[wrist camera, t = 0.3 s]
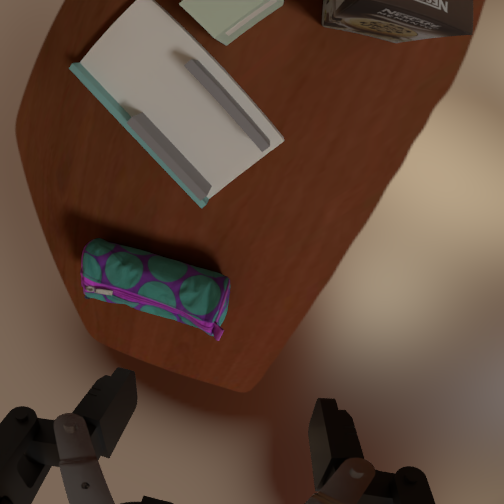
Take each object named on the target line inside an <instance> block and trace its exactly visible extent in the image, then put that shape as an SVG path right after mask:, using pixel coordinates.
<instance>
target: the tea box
mask: <svg viewBox="0 0 504 504" xmlns="http://www.w3.org/2000/svg"><path fill="white" fill-rule="evenodd" d="M283 3H284V0H183V1H181V2H180V3H179V5H180V6H181V7H183V8H184V9H185V10H186V11H187V12H188V13H189V14H190V15H191V16H192V17H193V18H194V19H195V20H196V21H197V22H198V23H199V24H200V25H201V26H202V27H203V28H204V29H205V30H206V31H207V32H208V33H209V34H210V35H211V36H212V37H213V38H214V39H216V40H218V41H220V42H221V43H223V44H224V45H226V46H227V45H228V44H229V43H231V42H232V41H233V40H235V39H236V38H237V37H238V36H240V35H241V34H242V33H244V32H245V31H246V30H248V29H249V28H251V27H252V26H253V25H255V24H256V23H257V22H259V21H260V20H262V19H263V18H265V17H266V16H267V15H269V14H270V13H272V12H273V11H275V10H276V9H278V8H279V7H281V6H282V5H283Z"/></svg>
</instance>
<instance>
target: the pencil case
mask: <svg viewBox="0 0 504 504" xmlns="http://www.w3.org/2000/svg"><path fill="white" fill-rule="evenodd" d="M81 266H82V269H81V271H80V274H81V285H82V287H83V291H84V294H85V298H87V299H90V298H95V299H98V300H101V301H105V302H110V303H119V304H126V305H128V306H130V307H133V308H135V309H137V310H140V311H144V312H147V313H150V314H154V315H158V316H161V317H165V318H169V319H173V320H176V321H178V322H181V323H185V324H188V325H191V326H194V327H197V328H200V329H202V330H203V331H205V332H206V333H207V334H208V335H210V336H214V337H215V339H216V340H217V341H219V340H220V338H221V336H222V334H223V331H224V330H223V329H222V328H221V327H220V325H221V324H222V322H223V321H224V319H225V316H226V314H227V310H228V302H229V294H230V279H229V278H228V277H227V276H224V275H222V274H220V273H218V272H213V271H210V270H207V269H203V268H199V267H195V266H192V265H189V264H186V263H183V262H179V261H176V260H173V259H169V258H165V257H162V256H159V255H156V254H153V253H150V252H146V251H143V250H140V249H136V248H132V247H127V246H123V245H119V244H116V243H111V242H107V241H105V240H104V239H101V238H97V239H93V240H91V241H90V242H88V243H87V244H86V245H85V247H84V249H83V252H82V258H81Z"/></svg>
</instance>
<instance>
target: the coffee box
mask: <svg viewBox="0 0 504 504" xmlns="http://www.w3.org/2000/svg"><path fill="white" fill-rule="evenodd" d="M322 26H324V27H328V28H333V29H339V30H344V31H349V32H354V33H358V34H363V35H367V36H371V37H375V38H379V39H383V40H386V41H390V42H394V43H399V42H406V41H412V40H420V39H427V38H436V37H446V36H458V35H472V31H473V0H323V10H322Z"/></svg>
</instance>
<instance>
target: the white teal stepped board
mask: <svg viewBox="0 0 504 504" xmlns="http://www.w3.org/2000/svg"><path fill="white" fill-rule="evenodd" d="M69 69H70V70H71V71H72V72H73V73H74V74H75V75H76V76H77V78H78V79H79V80H80V81H81V82H82V83H83V84H84V85H85V86H86V87H87V88H88V89H89V90H90V91H91V92H92V94H93V95H94V96H95V97H96V98H97V99H98V100H99V101H100V102H101V103H102V104H103V105H104V106H105V107H106V108H107V109H108V111H109V112H110V113H111V114H112V115H113V116H114V117H115V118H116V119H117V120H118V121H119V122H120V123H121V124H122V125H123V126H124V127H125V129H126V130H127V131H128V132H129V133H130V134H131V135H132V136H133V137H134V138H135V139H136V140H137V141H138V142H139V143H140V144H141V145H142V146H143V148H144V149H145V150H146V151H147V152H148V153H149V154H150V155H151V156H152V157H153V158H154V159H155V160H156V161H157V162H158V163H159V164H160V165H161V167H162V168H163V169H164V170H165V171H166V172H167V173H168V174H169V175H170V176H171V177H172V178H173V179H174V180H175V181H176V182H177V183H178V184H179V185H180V186H181V188H182V189H183V190H184V191H185V192H186V193H187V194H188V195H189V196H190V197H191V198H192V199H193V200H194V201H195V202H196V203H197V204H198V205H199V206H200V207H201V208H203V207H204V206H205V205H206V204H207V202H208V200H209V199H210V198H211V197H212V196H213V195H215V194H216V193H217V192H218V191H220V190H221V189H222V188H223V187H225V186H226V185H227V184H228V183H230V182H231V181H232V180H234V179H235V178H236V177H237V176H239V175H240V174H241V173H242V172H244V171H245V170H246V169H248V168H249V167H250V166H252V165H253V164H254V163H256V162H257V161H258V160H259V159H261V158H262V157H263V156H265V155H266V154H267V153H269V152H270V151H271V150H273V149H274V148H275V147H277V146H278V145H279V144H281V143H282V142H284V137H283V136H282V135H281V133H280V132H279V131H278V130H277V128H276V127H275V126H274V125H273V124H272V122H271V121H270V120H269V119H268V118H267V117H266V115H265V114H264V113H263V112H262V111H261V109H260V108H259V107H258V106H257V105H256V104H255V103H254V101H253V100H252V99H251V98H250V97H249V96H248V95H247V93H246V92H245V91H244V90H243V89H242V88H241V87H240V86H239V85H238V83H237V82H236V81H235V80H234V79H233V78H232V77H231V76H230V75H229V74H228V72H227V71H226V70H225V69H224V68H223V67H222V66H221V65H220V64H219V63H218V62H217V61H216V60H215V59H214V58H213V57H212V56H211V54H210V53H209V52H208V51H207V50H206V49H205V48H204V47H203V46H202V45H201V44H200V43H199V42H198V41H197V40H196V39H195V38H194V37H193V36H192V35H191V34H190V33H189V32H188V31H187V30H186V29H185V28H184V27H183V26H182V25H181V24H180V23H178V22H177V21H176V20H175V19H174V18H173V17H172V16H171V15H170V14H169V13H168V12H167V11H166V10H165V9H164V8H163V7H161V6H160V5H159V4H158V3H157V2H156V1H155V0H136V1H135V2H134V3H133V4H132V5H131V6H130V7H129V8H128V9H127V10H126V11H125V12H124V13H123V14H122V15H121V16H120V17H119V18H118V19H117V20H116V21H115V22H114V23H113V24H112V25H111V27H110V28H109V29H108V30H107V31H106V32H105V33H104V34H103V35H102V37H101V38H100V39H99V40H98V41H97V42H96V43H95V45H94V46H93V47H92V48H91V49H90V51H89V52H88V53H87V54H86V55H85V57H84V58H83V59H82V60H81V62H80V63H72V65H71V66H70V67H69Z"/></svg>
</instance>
